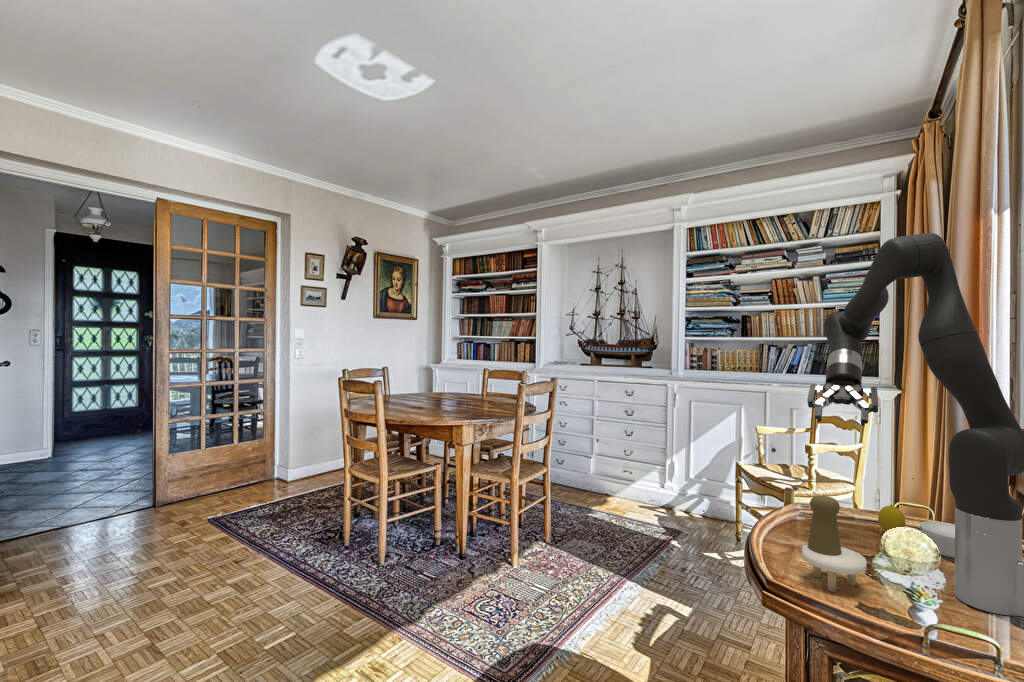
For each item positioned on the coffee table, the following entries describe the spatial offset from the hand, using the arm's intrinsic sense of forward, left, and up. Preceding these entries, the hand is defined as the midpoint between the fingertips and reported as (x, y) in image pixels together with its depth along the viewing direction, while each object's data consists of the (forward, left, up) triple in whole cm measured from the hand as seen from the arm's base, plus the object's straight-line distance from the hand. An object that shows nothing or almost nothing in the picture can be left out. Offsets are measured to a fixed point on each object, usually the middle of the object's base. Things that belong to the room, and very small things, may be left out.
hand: (840, 421), depth 117 cm
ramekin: (-21, -16, -31) cm, 41 cm away
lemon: (-10, -19, -31) cm, 38 cm away
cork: (+2, +18, -25) cm, 31 cm away
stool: (0, +20, -31) cm, 36 cm away
